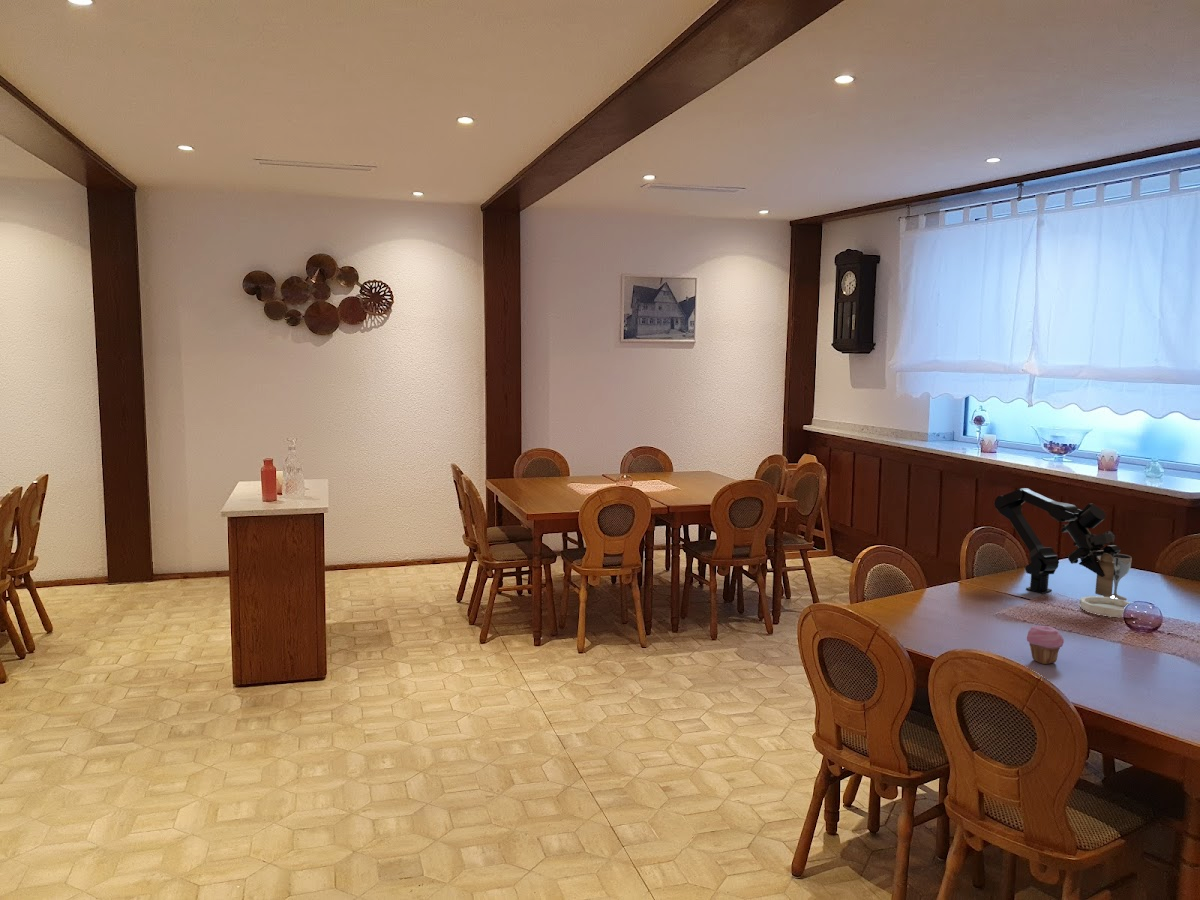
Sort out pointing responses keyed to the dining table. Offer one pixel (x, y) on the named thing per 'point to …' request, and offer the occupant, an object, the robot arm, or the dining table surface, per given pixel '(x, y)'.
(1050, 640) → the cupcake
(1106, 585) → the pepper mill
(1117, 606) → the dish
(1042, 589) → the robot arm
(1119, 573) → the wine glass
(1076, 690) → the dining table surface
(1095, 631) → the dining table surface
